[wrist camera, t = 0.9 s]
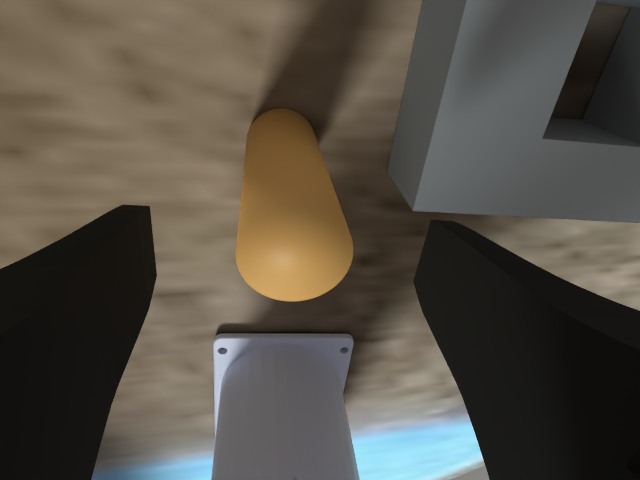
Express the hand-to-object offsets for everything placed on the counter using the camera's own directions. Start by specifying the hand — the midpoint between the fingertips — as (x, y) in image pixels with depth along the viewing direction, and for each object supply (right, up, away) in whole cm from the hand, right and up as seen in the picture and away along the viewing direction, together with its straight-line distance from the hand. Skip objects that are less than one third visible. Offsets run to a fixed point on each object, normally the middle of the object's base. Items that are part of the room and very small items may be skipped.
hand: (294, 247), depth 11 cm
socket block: (+11, +8, +7) cm, 15 cm away
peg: (-1, +4, +7) cm, 9 cm away
